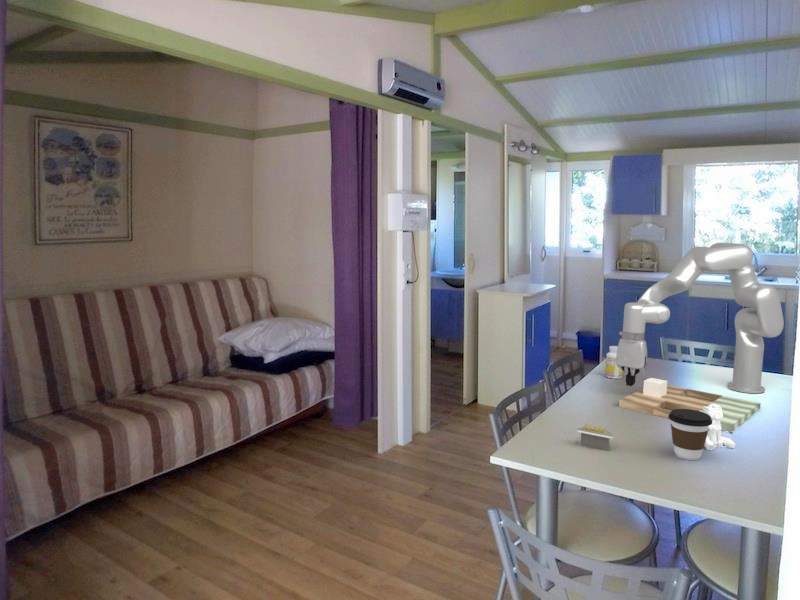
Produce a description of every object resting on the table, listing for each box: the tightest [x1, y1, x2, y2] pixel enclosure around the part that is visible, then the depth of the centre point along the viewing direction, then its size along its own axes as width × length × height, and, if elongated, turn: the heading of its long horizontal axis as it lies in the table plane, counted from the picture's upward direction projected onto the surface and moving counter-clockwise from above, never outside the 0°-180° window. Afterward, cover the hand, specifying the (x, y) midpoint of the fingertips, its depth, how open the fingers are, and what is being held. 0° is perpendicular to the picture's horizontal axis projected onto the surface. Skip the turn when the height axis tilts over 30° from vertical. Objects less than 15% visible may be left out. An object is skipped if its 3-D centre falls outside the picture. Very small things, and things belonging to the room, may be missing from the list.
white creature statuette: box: [702, 404, 737, 451], centre depth 176 cm, size 10×9×12 cm
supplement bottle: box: [605, 345, 624, 380], centre depth 250 cm, size 7×7×13 cm
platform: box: [576, 422, 614, 452], centre depth 174 cm, size 12×18×7 cm, turn 57°
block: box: [642, 377, 668, 398], centre depth 218 cm, size 6×6×5 cm
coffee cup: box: [668, 409, 712, 461], centre depth 167 cm, size 11×11×12 cm
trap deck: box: [618, 384, 762, 433], centre depth 210 cm, size 32×36×2 cm
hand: (630, 385), depth 225 cm, fingers closed
